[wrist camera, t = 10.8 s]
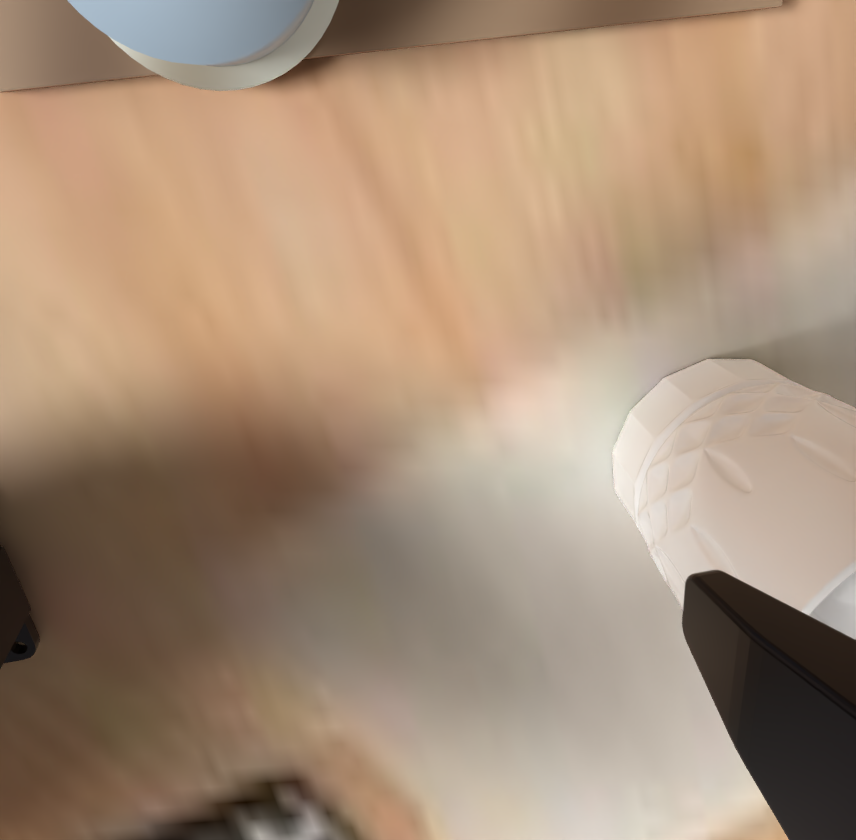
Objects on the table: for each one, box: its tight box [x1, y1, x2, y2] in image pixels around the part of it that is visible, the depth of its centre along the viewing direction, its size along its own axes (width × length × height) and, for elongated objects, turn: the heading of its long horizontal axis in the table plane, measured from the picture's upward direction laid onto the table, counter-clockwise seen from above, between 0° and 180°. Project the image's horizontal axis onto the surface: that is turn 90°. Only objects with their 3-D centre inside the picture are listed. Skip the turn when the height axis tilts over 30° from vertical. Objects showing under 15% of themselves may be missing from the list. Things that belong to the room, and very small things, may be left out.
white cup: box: [612, 359, 856, 640], centre depth 20 cm, size 8×8×10 cm
